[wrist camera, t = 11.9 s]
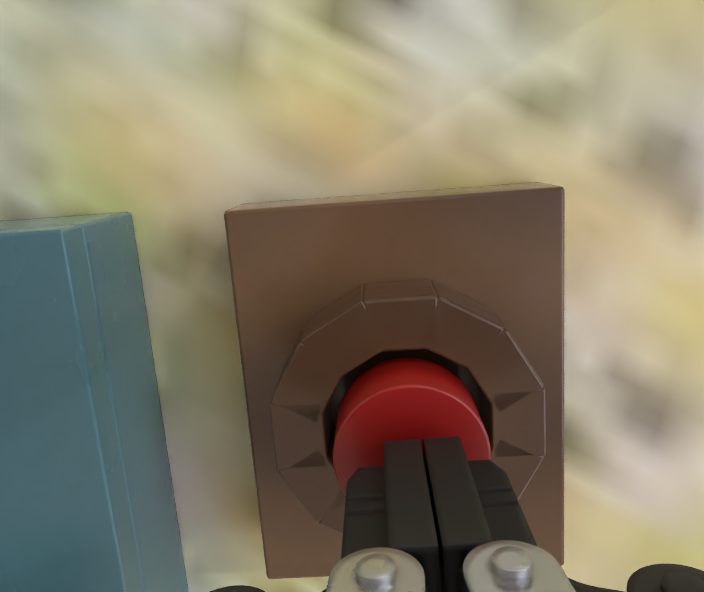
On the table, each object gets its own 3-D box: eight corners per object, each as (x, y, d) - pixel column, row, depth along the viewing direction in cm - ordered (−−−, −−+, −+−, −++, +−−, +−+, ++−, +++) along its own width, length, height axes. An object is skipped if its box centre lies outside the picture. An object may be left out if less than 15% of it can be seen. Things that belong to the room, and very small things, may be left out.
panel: (241, 203, 17) (203, 219, 13) (540, 181, 17) (592, 191, 13) (277, 532, 19) (254, 630, 15) (543, 520, 19) (587, 615, 15)
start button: (331, 361, 14) (326, 389, 12) (474, 352, 14) (489, 380, 12) (342, 489, 15) (339, 534, 13) (479, 483, 15) (493, 526, 13)
